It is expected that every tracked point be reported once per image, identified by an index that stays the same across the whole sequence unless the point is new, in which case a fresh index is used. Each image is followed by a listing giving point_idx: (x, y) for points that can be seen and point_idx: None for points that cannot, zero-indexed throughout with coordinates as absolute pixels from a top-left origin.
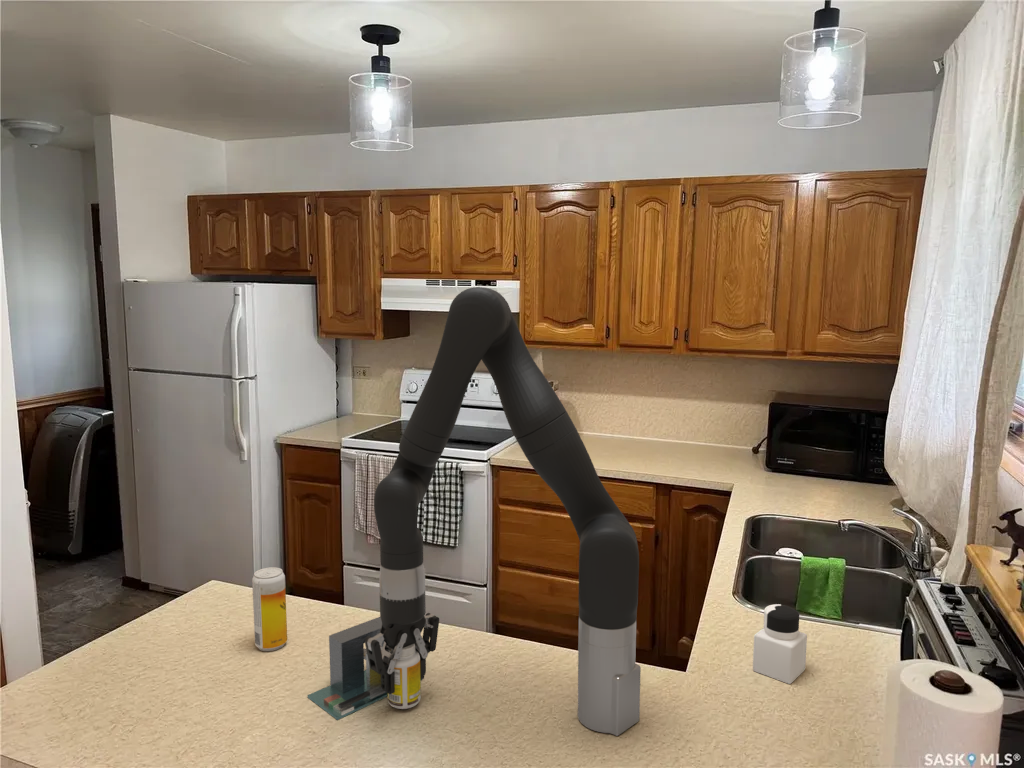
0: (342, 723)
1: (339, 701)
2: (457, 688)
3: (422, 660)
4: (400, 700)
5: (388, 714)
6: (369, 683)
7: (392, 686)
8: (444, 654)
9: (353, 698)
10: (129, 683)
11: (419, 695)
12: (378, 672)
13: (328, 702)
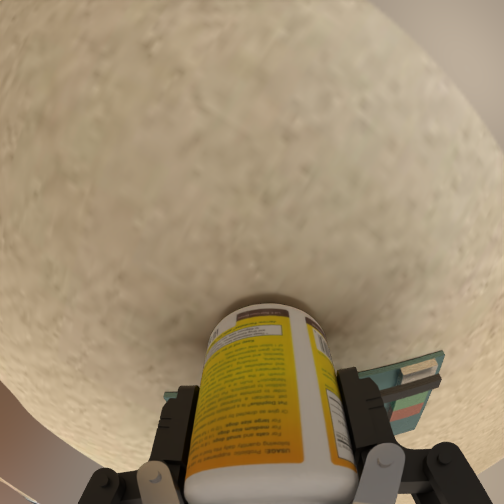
0: (445, 334)
1: (408, 399)
2: (82, 312)
3: (171, 457)
4: (315, 334)
5: (340, 316)
6: None
7: (355, 391)
8: (92, 419)
9: (400, 396)
10: (478, 460)
11: (225, 330)
12: (459, 449)
13: (423, 402)
